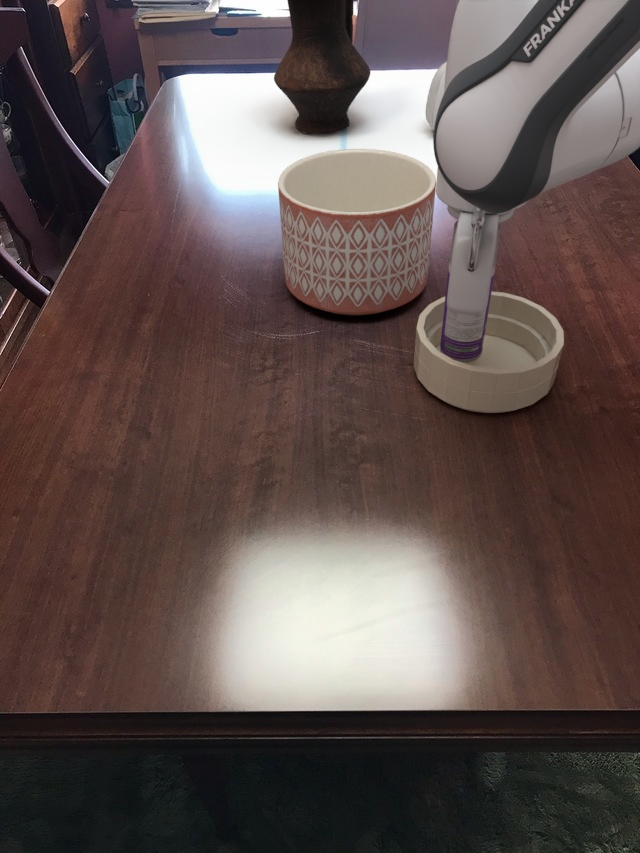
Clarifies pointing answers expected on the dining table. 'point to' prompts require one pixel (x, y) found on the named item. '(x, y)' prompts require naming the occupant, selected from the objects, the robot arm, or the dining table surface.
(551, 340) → the bowl
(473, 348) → the container
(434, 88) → the vase
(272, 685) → the dining table surface
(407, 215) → the planter
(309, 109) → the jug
